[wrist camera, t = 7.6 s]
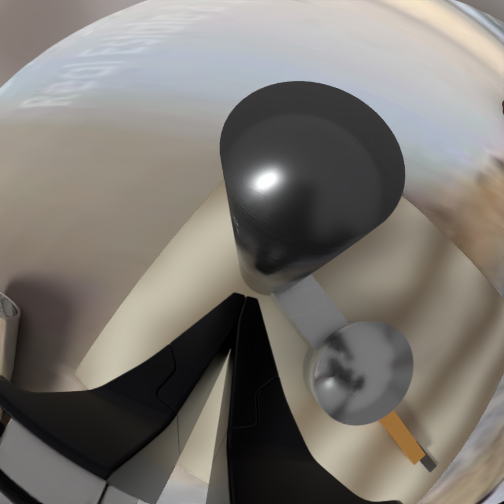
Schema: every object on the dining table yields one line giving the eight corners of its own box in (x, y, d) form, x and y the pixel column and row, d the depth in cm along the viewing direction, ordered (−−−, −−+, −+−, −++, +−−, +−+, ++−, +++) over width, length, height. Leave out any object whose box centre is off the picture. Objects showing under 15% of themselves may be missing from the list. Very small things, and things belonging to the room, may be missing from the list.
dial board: (510, 325, 16) (523, 324, 14) (366, 534, 12) (373, 545, 10) (284, 127, 19) (286, 113, 17) (85, 370, 15) (72, 373, 13)
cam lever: (441, 430, 13) (555, 478, 2) (387, 481, 12) (477, 566, 1) (287, 216, 16) (346, 55, 5) (214, 269, 15) (137, 159, 4)
